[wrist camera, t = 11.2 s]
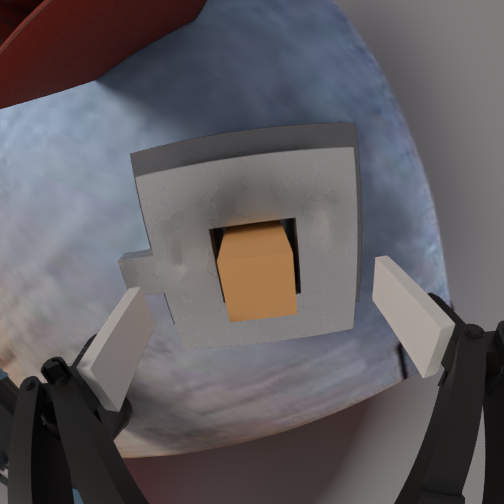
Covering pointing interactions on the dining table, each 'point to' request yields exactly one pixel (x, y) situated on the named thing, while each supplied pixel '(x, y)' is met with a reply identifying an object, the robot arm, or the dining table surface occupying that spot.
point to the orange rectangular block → (257, 271)
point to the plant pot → (77, 40)
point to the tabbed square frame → (250, 211)
